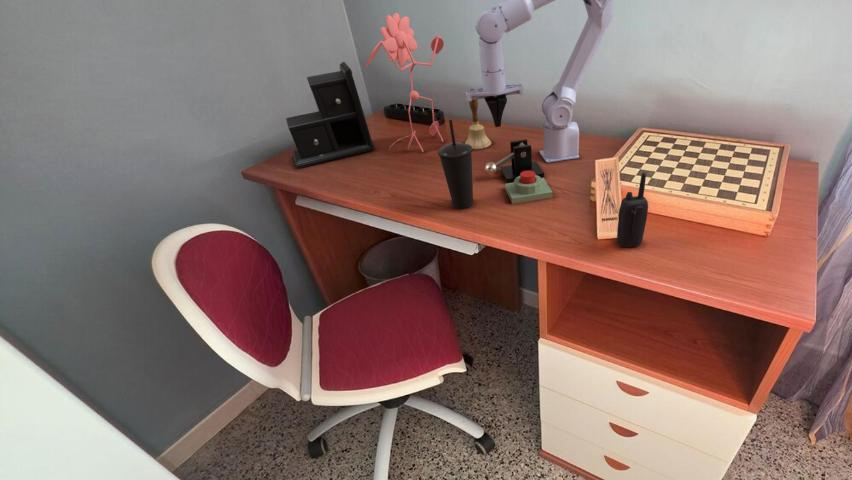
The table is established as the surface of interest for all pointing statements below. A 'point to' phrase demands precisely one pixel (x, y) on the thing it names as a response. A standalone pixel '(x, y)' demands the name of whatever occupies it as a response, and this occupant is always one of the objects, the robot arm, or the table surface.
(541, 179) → the button box
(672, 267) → the table surface
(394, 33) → the figurine
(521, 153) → the black lever mount
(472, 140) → the hand bell
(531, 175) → the button
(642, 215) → the two-way radio
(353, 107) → the black drawer organizer
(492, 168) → the tap lever
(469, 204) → the drinking cup
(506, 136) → the table surface
